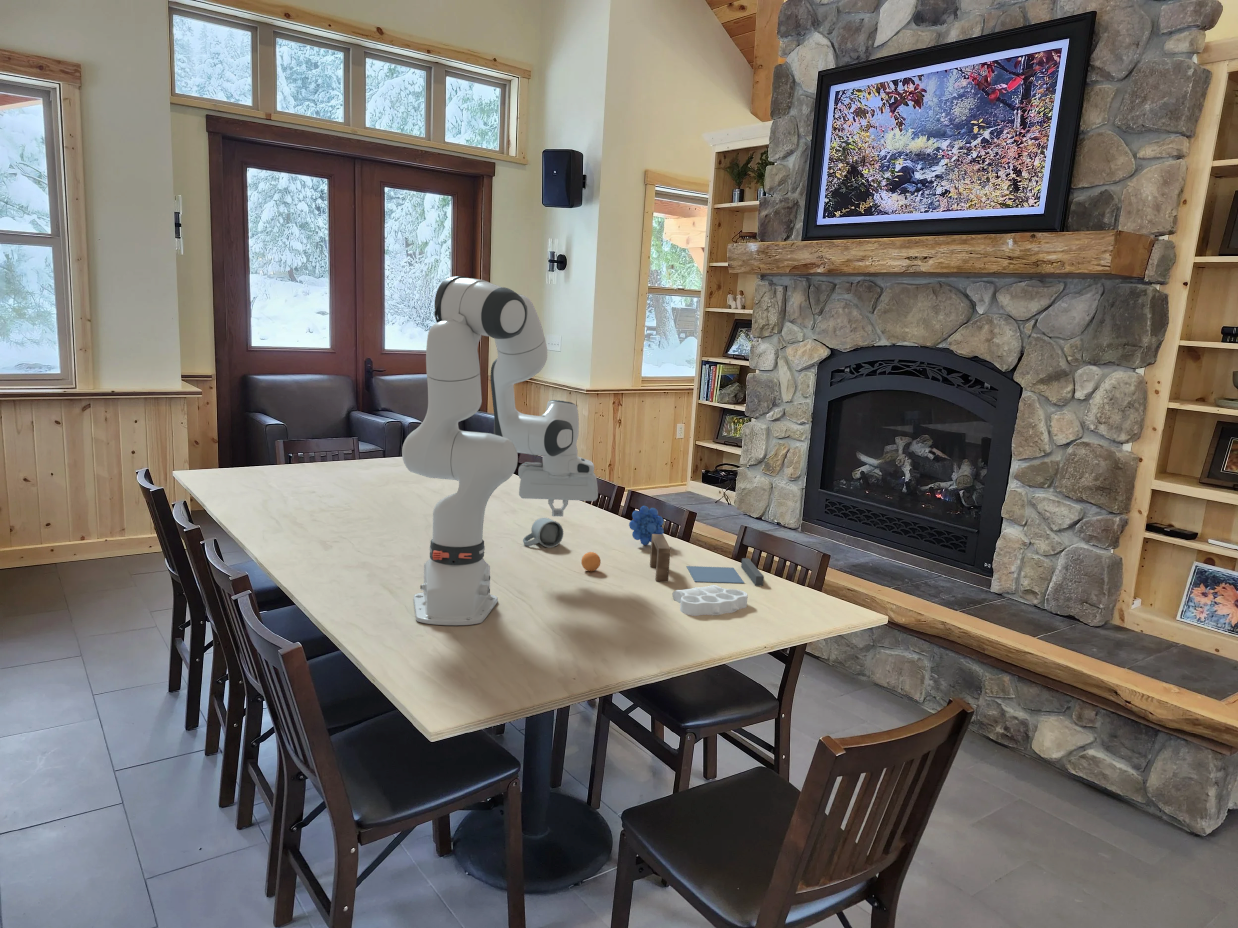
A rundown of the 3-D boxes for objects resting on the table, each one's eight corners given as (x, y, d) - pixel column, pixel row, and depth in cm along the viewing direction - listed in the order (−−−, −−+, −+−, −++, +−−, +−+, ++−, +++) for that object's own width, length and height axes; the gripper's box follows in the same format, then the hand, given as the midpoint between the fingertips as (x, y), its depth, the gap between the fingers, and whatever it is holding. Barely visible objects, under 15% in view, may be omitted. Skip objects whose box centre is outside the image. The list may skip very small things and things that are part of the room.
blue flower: (635, 550, 240) (637, 509, 238) (624, 544, 246) (626, 504, 244) (669, 547, 245) (672, 507, 243) (658, 541, 251) (661, 502, 249)
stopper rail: (762, 585, 215) (763, 576, 214) (755, 585, 214) (756, 576, 214) (748, 567, 230) (749, 558, 230) (741, 566, 230) (741, 558, 230)
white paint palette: (720, 593, 208) (759, 612, 196) (660, 602, 199) (697, 623, 187) (721, 580, 208) (760, 599, 195) (661, 588, 198) (698, 608, 186)
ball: (600, 574, 216) (601, 555, 215) (581, 573, 216) (582, 554, 215) (599, 568, 221) (600, 549, 220) (580, 567, 220) (581, 549, 220)
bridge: (660, 565, 227) (662, 534, 225) (668, 581, 213) (670, 548, 212) (649, 564, 227) (651, 533, 225) (656, 581, 213) (658, 548, 211)
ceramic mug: (552, 539, 246) (553, 513, 245) (563, 546, 239) (564, 520, 238) (518, 542, 242) (519, 516, 240) (528, 550, 235) (529, 523, 233)
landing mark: (744, 583, 216) (744, 582, 216) (694, 581, 214) (694, 581, 214) (733, 568, 228) (733, 567, 228) (686, 566, 227) (686, 565, 227)
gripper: (518, 464, 208) (516, 517, 211) (599, 467, 210) (597, 520, 213) (519, 459, 215) (517, 511, 217) (598, 462, 216) (595, 514, 219)
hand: (557, 515), depth 215 cm, fingers closed
